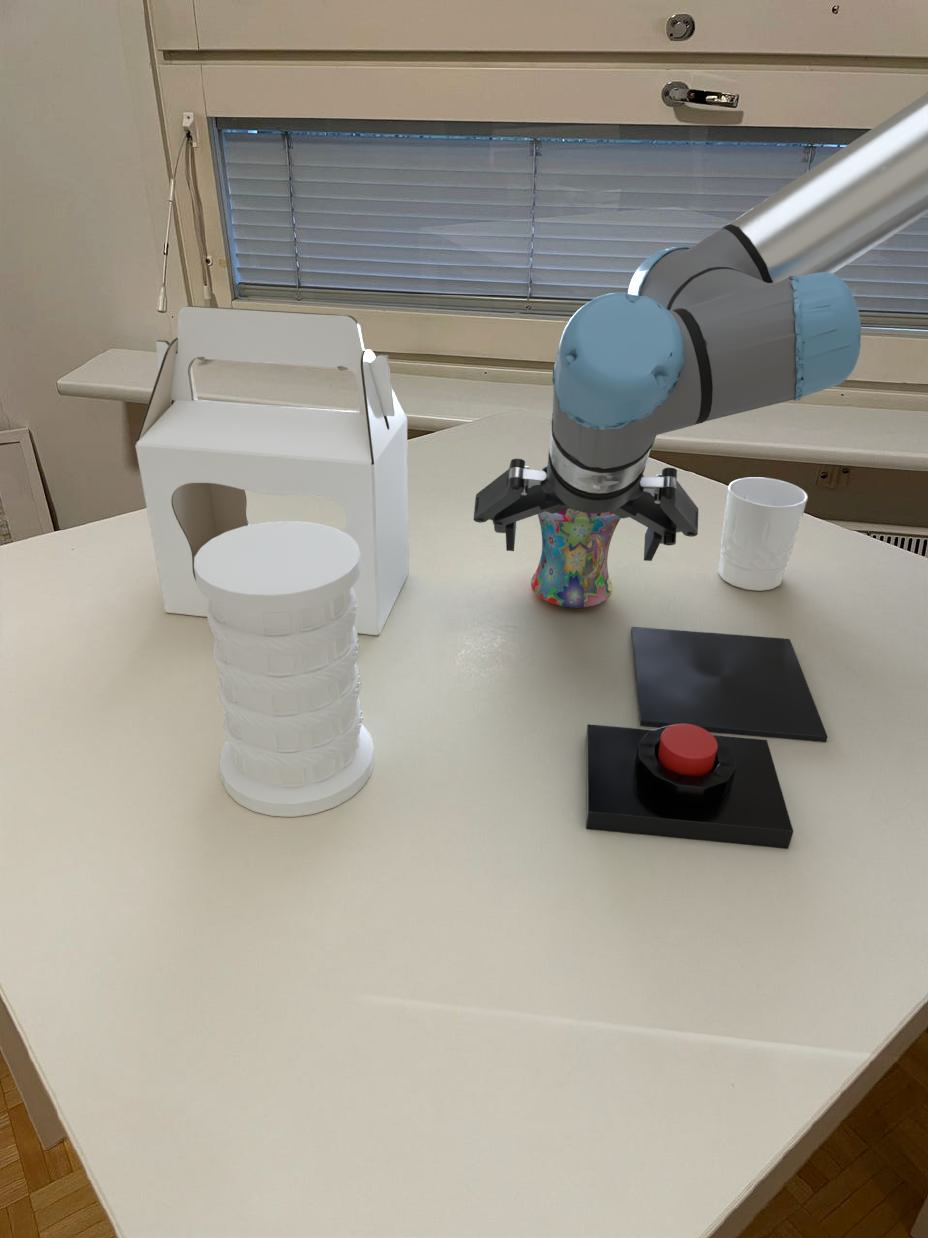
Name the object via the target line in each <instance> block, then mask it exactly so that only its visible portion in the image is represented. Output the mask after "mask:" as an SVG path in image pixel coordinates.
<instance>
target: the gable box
mask: <svg viewBox="0 0 928 1238" xmlns="http://www.w3.org/2000/svg"><path fill="white" fill-rule="evenodd" d="M155 348H156V360H157V376H156V379H155V382H154V385H153V388H152V391H151V393H150V396H149V400H148V403H147V407H146V410H145V412H144V416H143V419H142V422H141V425H140V426H139V427H140V428H139V431H138V434H137V437H136V439H135V443H134V446H135V451H136V457H137V463H138V468H139V474H140V480H141V485H142V491H143V497H144V501H145V508H146V513H147V518H148V524H149V530H150V535H151V536H150V537H151V541H152V546H153V551H154V557H155V564H156V568H157V574H158V580H159V584H160V585H159V586H160V590H161V596H162V601H163V607H164V611H165V612H166V613H167V614H174V615H183V616H185V615H186V616H192V617H203V618H207V608H208V602H209V600H210V599H208V598H207V597H206V596H204V595H203V594H202V593H201V591H200V590H199V588H198V586H197V584H196V578H195V571H194V557H195V556H196V554H197V553H198V551H199V550H200V548H201V547H202V546H204V545H205V544H206V543H207V542H209V541H210V540H211V539H213V538H215V537H217V536H219V535H221V534H223V533H225V532H227V531H230V530H233V529H237V528H240V527H243V526H247V525H251V524H250V523H249V521H248V518H247V503H248V501H247V500H248V499H247V494H246V491H247V492H250V493H251V492H252V493H256V494H260V495H264V496H265V495H266V496H298V495H300V496H301V495H304V496H305V495H307V496H316V497H321V498H325V499H329V500H332V501H333V502H335V503H337V504H338V505H339V506H340V507H341V508H342V510H343V511H344V514H345V525H344V529H343V531H342V532H344V533H346V534H348V535H350V536H351V537H352V538H353V540H354V541H355V542H356V543H357V544H358V546H359V550H360V553H361V572H360V576H359V579H358V581H357V582H356V583H355V584H354V585H353V589H354V593H355V595H356V596H355V597H356V600H357V603H356V606H357V607H358V608H357V609H356V618H355V621H354V624H353V625H354V626H355V628H356V632H357V634H358V635H359V634H361V635H369V636H376V637H377V636H379V635H380V634H381V632H382V631H383V628H384V626H385V623H386V622H387V620H388V618H389V616H390V613H391V611H392V609H393V607H394V605H395V603H396V601H397V598H398V597H399V594H400V592H401V590H402V589H403V586H404V583H405V582H406V580H407V577H408V575H409V572H410V551H409V550H410V548H409V547H410V546H409V544H410V543H409V537H410V536H409V476H408V475H409V468H408V467H409V465H408V464H409V462H408V459H409V458H408V455H409V453H408V417H407V415H406V413H405V411H404V409H403V407H402V405H401V403H400V402H399V399H398V398H397V395H396V393H395V391H394V389H393V387H392V378H391V367H390V357H389V354H378V355H376V354H375V352H373V351H372V350H371V349H365V346H364V341H363V325H360V323H359V322H358V319H356V318H355V317H354V316H352V315H348V314H337V313H319V312H318V313H317V312H302V311H300V312H299V311H287V310H286V311H285V310H270V309H269V310H268V309H252V308H233V307H218V306H203V305H202V306H201V305H186V306H184V307H182V308H180V310H179V312H178V315H177V337H176V338H174V339H173V340H172V341H171V342H169V341H168V340H161V339H158V340H155ZM196 360H199V361H202V362H207V361H208V360H213V361H226V362H227V361H228V362H242V363H255V364H268V365H269V364H270V365H271V364H272V365H285V366H297V367H298V366H299V367H315V368H327V369H328V368H329V369H338V370H339V371H348V370H349V371H351V372H352V373H353V374H354V376H355V378H356V380H357V385H358V408H359V411H356V410H355V411H353V410H342V409H341V410H340V409H328V408H327V409H326V408H312V407H300V406H287V405H274V404H273V405H272V404H262V403H261V404H260V403H248V402H247V403H246V402H233V401H221V400H220V401H219V400H208V399H207V400H206V399H199V398H198V394H197V393H198V392H197V387H196V382H195V377H194V372H193V371H194V370H193V366H192V365H193V363H194V362H195V361H196Z"/></svg>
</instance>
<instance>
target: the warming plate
mask: <svg viewBox="0 0 928 1238" xmlns="http://www.w3.org/2000/svg"><path fill="white" fill-rule="evenodd" d="M630 634H631V645H632V656H633V666H634V667H633V669H634V677H635V687H636V697H637V709H638V718H639V719H638V721H639V726H640V727H646V728H655V729H658V728H661V727H665V726H670V725H675V724H690V725H695V726H698V727H701V728H703V729H705V730H707V731H708V732H709V733H713V734H726V735H737V736H750V737H762V738H771V739H772V738H773V739H781V740H782V739H784V740H794V741H795V740H796V741H805V742H806V741H807V742H817V743H818V742H819V743H827V742H828V738H829V737H828V734H827V731H826V728H825V726H824V723H823V721H822V718H821V716H820V713H819V711H818V708H817V705H816V703H815V701H814V698H813V697H814V696H813V695H812V692H811V690H810V688H809V685H808V682H807V680H806V677H805V675H804V674H805V673H804V672H803V669H802V666H801V663H800V661H799V658H798V656H797V653H796V651H795V649H794V646H793V643H792V640H791V638H783V637H772V636H771V637H769V636H758V635H757V636H755V635H746V634H744V635H743V634H732V633H720V632H719V633H717V632H706V631H693V630H682V629H681V630H680V629H678V630H677V629H666V628H653V627H644V626H643V627H642V626H631V628H630Z"/></svg>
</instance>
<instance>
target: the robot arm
mask: <svg viewBox="0 0 928 1238" xmlns="http://www.w3.org/2000/svg"><path fill="white" fill-rule="evenodd" d="M926 215H928V92H926V93H925V94H923V95H922V96H920V97H918V98H916V99H915V100H914V101H912V102H911V103H909V104H908V105H906V106H905V107H903V108H902V109H900V110H899V111H897V112H895V113H894V114H893V115H891V116H889V117H888V118H886V119H885V120H883V121H882V122H881V123H879V124H878V125H876V126H875V127H873V128H871V129H870V130H868V131H867V132H865V133H864V134H862V135H861V136H859V137H858V138H856V139H855V140H853V141H852V142H850V143H849V144H848V145H846V146H844V147H842V148H841V149H840V150H838V151H837V152H835V153H834V154H832V155H831V156H829V157H828V158H826V159H825V160H823V161H822V162H820V163H818V164H817V165H816V166H814V167H813V168H811V169H809V170H808V171H806V172H805V173H803V174H802V175H801V176H799V177H797V178H796V179H795V180H793V181H792V182H789V183H788V184H787V185H786V186H784V187H782V188H781V189H779V190H778V191H777V192H775V193H773V194H772V195H770V196H769V197H768V198H766V199H764V200H763V201H761V202H759V203H758V204H757V205H755V206H753V207H752V208H751V209H749V210H747V211H746V212H745V213H743V214H742V215H740V216H738V217H737V218H735V219H734V220H732V221H731V222H729V223H727V224H725V225H724V226H722V227H721V228H719V229H718V230H716V231H714V232H713V233H711V234H710V235H708V236H707V237H705V238H703V239H702V240H700V241H699V242H698V243H695V244H694V245H692V246H690V247H689V246H681V247H680V246H676V247H669V248H664V249H660V250H658V251H656V252H654V253H653V254H651V255H650V256H649V257H647V258H646V259H645V260H644V261H643V262H642V263H641V264H640V265H639V266H638V267H637V269H636V270H635V272H634V274H633V276H632V278H631V280H630V282H629V287H628V289H627V292H625V291H622V292H621V291H618V292H610V293H606V294H603V295H602V294H601V295H600V296H597V297H595V298H593V299H592V300H590V301H588V302H587V303H585V304H584V305H582V306H581V307H580V308H579V309H577V311H576V312H575V313H574V314H573V315H572V316H571V317H570V319H569V320H568V322H567V324H566V326H565V328H564V329H563V331H562V335H561V338H560V342H559V344H558V348H557V352H556V357H555V361H554V365H553V367H552V378H551V380H552V385H553V394H552V414H551V420H550V429H549V430H550V431H549V433H550V434H549V446H548V455H547V464H546V465H544V466H543V467H542V469H541V470H540V469H532V468H530V467H529V466H526V460H524V459H522V458H513V459H511V460H510V462H509V466H508V469H507V470H506V471H504V472H503V473H502V474H500V475H499V476H498V477H496V478H495V479H493V480H492V481H491V482H490V483H489V484H488V485H486V486H485V487H484V488H483V489H481V490H480V491H478V492H477V493H476V494H475V500H474V510H473V521H474V522H476V523H479V524H480V523H481V524H482V523H487V522H488V521H489V520H490V521H492V524H493V529H494V530H493V531H494V532H495V533H498V534H505V547H506V551H507V552H515V543H516V534H517V533H516V532H517V531H516V530H517V522H520V521H522V520H525V519H528V518H530V517H531V518H532V517H533V516H536V515H538V514H539V513H542V512H545V511H546V512H548V513H551V514H554V513H557V512H560V511H563V510H566V509H572V510H574V509H575V510H577V511H580V512H584V513H591V514H599V513H606V512H611V513H613V514H615V515H617V516H618V517H620V518H621V519H628V518H630V519H632V520H634V521H636V522H637V523H639V524H640V525H643V526H644V527H646V528H647V529H646V532H645V533H644V548H643V561H646V562H652V561H653V558H654V556H655V555H656V553H657V550H658V548H659V546H660V544H661V545H665V546H675V545H677V533H682V534H683V535H684V536H686V537H689V538H692V537H696V536H698V533H699V507H698V506H697V505H696V503H695V502H694V501H693V500H692V498H691V497H690V496H689V494H688V493H687V491H686V490H685V489H684V487H682V485H681V484H680V483H679V481H678V470H677V469H676V468H674V467H665V468H663V469H662V470H661V474H660V473H658V474H656V475H655V476H645V475H644V472H645V469H646V465H647V462H648V460H649V457H650V453H651V450H652V448H653V445H654V443H655V441H656V438H657V436H658V435H662V434H667V433H670V432H674V431H677V430H681V429H685V428H688V427H692V426H695V425H699V424H703V423H705V422H708V421H712V420H717V419H721V418H725V417H728V416H732V415H737V414H741V413H745V412H750V411H753V410H757V409H762V408H765V407H769V406H773V405H777V404H781V403H786V402H790V401H793V402H799V401H801V399H802V398H804V397H807V396H810V395H812V394H816V393H818V392H821V391H824V390H827V389H830V388H833V387H837V386H839V385H840V384H843V383H844V382H845V381H846V380H847V379H848V378H849V377H850V376H851V374H852V373H853V371H854V369H855V368H856V366H857V363H858V360H859V356H860V353H861V341H862V324H861V317H860V312H859V308H858V304H857V301H856V299H855V296H854V295H853V292H852V291H851V289H850V287H849V286H848V284H847V283H846V282H845V281H844V280H843V278H841V277H840V276H838V275H837V274H835V273H836V272H837V271H839V270H841V269H842V268H844V267H845V266H847V265H848V264H850V263H852V262H853V261H855V260H856V259H858V258H859V257H861V256H863V255H865V254H866V253H867V252H869V251H871V250H872V249H875V247H877V246H879V245H881V244H882V243H884V242H885V241H887V240H888V239H890V238H892V237H893V236H895V235H896V234H898V233H900V232H901V231H902V230H904V229H906V228H908V227H909V226H911V225H912V224H914V223H915V222H917V221H919V220H920V219H922V218H924V217H925V216H926Z"/></svg>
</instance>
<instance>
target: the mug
mask: <svg viewBox="0 0 928 1238" xmlns="http://www.w3.org/2000/svg"><path fill="white" fill-rule="evenodd" d="M537 518H538V522H539V526H540V532H541V543H542V544H541V555H540V559H539V563H538V565H537V568H536V570H535V572H534V573H533V574H532V577H531V579H530V587H531V589H532V591H533V592H534V594H535V595H536V596H537V597H539V598H540V599H542V600H544V601H545V602H547V603H550V604H552V605H555V606H559V607H563V608H574V609H576V608H589V607H592V606H597V605H599V604H602V603H604V602H605V601H606V600H608V599H609V597H610V596H611V595H612V593H613V583H612V580H611V579H610V574H609V569H608V557H609V550H610V546H611V541H612V539H613V535H614V533H615V531H616V529H617V526H618V524H619V522H620V520H621V519H622V518H620V517H618V516H617V515H615V514H613V513H611V512H606V513H599V514H591V513H584V512H580V511H577V510H575V509H574V510H572V509H566V510H563V511H560V512H557V513H554V514H551V513H548V512H546V511H545V512H542V513H539V514H537Z"/></svg>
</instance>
